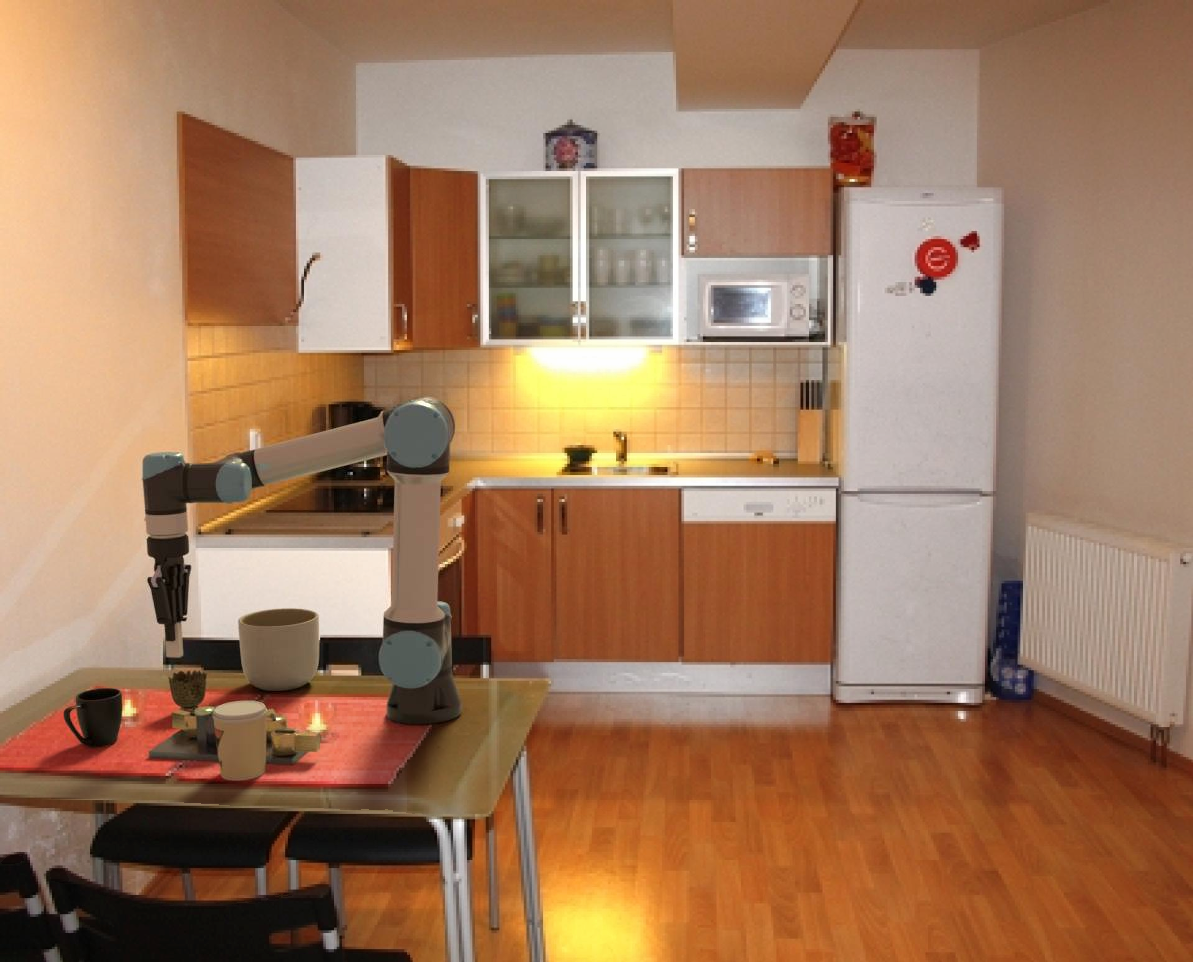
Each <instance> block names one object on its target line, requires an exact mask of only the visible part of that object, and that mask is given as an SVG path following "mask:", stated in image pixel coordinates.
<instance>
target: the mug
mask: <svg viewBox="0 0 1193 962" xmlns="http://www.w3.org/2000/svg"><path fill="white" fill-rule="evenodd" d="M122 693H123V692H122V691H121V690H120V689H117V688H113V687H104V688H103V687H100V688H94V689H88V690H85V691H81V692H80V693H77V694H76V695H75V705H72V706H69V707H67V708H65V709H64V710H63V719H64V722H65V724H66V725H67V726H68V729H70V731H71V732H72V734H73V735H74V736H75V737H76V738H77V740H78V741H79V742H80V743H81V744H82V745H84V746H86V747H87V746H88V747H92V748H100V747H101V748H102V747H107V746H111V745H114V744H115V743H116V742H118V738H119V737H118V736H119V732H120V729H121V728H120V727H121V723H122V719H123V718H122V717H123V696H122V695H123V694H122ZM73 710H76V717H77V721H78V724H79V725H78V726H79V728H80V731H81V733H80V732H79V731H78V730H77V728H76V726H75V725H74V723H73V721H72V720H71V712H72V711H73ZM81 734H82V735H81Z"/></svg>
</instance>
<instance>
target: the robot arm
mask: <svg viewBox="0 0 1193 962" xmlns="http://www.w3.org/2000/svg"><path fill="white" fill-rule="evenodd" d="M455 433H456V423H455V419H454V415H453V414H452V411H451V410H450V408H449V407H448V406H447V405H446V404H445V403H444V402H443V401H441V400H439V399H437V398H434V397H431V396H419V397H416V398H413V399H410V400H409V401H406V402H403V403H402V404H400V405H398V406H395V407H392V408H388V409H384V410H382V411H380V413H379V415H378V416H377V417H374V418H371V419H367V420H364V421H363V420H362V421H358V422H355V423H351V424H346V425H343V426H339V427H336V428H331V429H328V430H327V429H326V430H323V431H320V432H317V433H312V434H309V435H308V434H307V435H304V436H300V437H296V438H292V439H289V440H286V441H282V442H276V443H274V444H270V445H265V446H261V447H258V448H255V449H251V450H246V451H242V452H237V451H236V452H234V453H230V454H228V455H226V456H225V457H223V458H221V459H219V460H217V461H215V462H203V463H202V462H201V463H192V462H191V463H189V462H186V460H185V456H184V455H183V453H182V452H176V451H175V452H172V451H164V452H153V453H149V454H145V456H144V457H143V458H142V477H141V481H142V489H143V502H144V513H145V517H144V522H145V529H146V530H145V531H146V534H147V535H148V537H147V538H146V550H147V551H146V553H147V555H148V557H150V558H153V559H154V565H153V572H154V574H153V576H148V577H147V579H146V582H147V584H148V587H149V589H150V593H151V598H152V603H153V607H154V612H155V613H154V614H155V618H156V622H157V623H158V624H159V625H164V626H163V627H164V638H165V639H164V640H165V657H166V658H179V659H180V658H182V657H183V656H184V647H183V646H184V645H183V643H184V642H183V628H182V622H186V621H187V620H188V617H186V616H187V615H188V608H189V607H188V606H189V589H190V575H191V571H192V565H191V564H186V563H185V558H184V556H186V555H188V554H189V552H190V541H189V535H188V534H187V532H188V531H189V522H188V512H187V509H188V508H187V507H188V506H187V504H224V503H225V504H233V503H243V502H246V501H248V500H249V498H250V496H251V494H252V490H254V489H258V488H262V487H264V486H268V485H273V484H278V483H280V482H284V481H285V482H286V481H288V480H289V481H290V480H293V479H297V478H301V477H305V476H309V475H312V474H316V473H320V472H321V473H322V472H325V471H328V470H329V471H330V470H332V469H336V468H340V467H344V466H348V465H352V464H357V463H359V462H363V461H368V460H371V459H376V458H380V457H385V456H386V472H387V473H388V475H389V476H390V477H392V479H393V481H394V495H393V496H394V499H393V500H394V501H393V503H394V504H393V534H392V535H393V539H392V540H393V542H392V578H391V579H392V580H391V581H392V584H391V587H392V588H391V605H390V606H389V607H388V608H387V609H386V610H385V611H384V612H383V622H382V643H381V646H380V648H379V651H378V652H379V653H378V665H379V668H380V671H381V672H382V674H383V676H384V677H385V678H386V679H387V680H388V681H389V682H390V683H392V685H391V688H390V691H389V695H388V698H387V702H386V717H387V718H388V719H389V720H391V721H393V722H395V723H398V724H399V723H400V724H404V725H405V724H406V725H433V724H439V723H443V722H447V721H450V720H454V719H456V718H458V717H460V715H461V714H462V712H463V707H462V705H463V703H462V698H461V695H460V693H459V690H458V687H457V684H456V682H455V681H456V680H455V679H454V677H453V659H452V657H453V656H452V653H453V652H452V625H451V624H452V623H451V620H452V618H453V615H452V614H451V607H450V605H449V604H448V603H447V602H444V601H438V593H439V592H438V590H439V589H438V588H439V587H438V586H439V583H438V582H439V561H440V560H439V558H440V557H439V555H440V553H439V552H440V524H441V523H440V522H441V521H440V520H441V519H440V518H441V492H442V491H441V489H442V488H441V485H442V484H441V483H442V481H443V480H444V479H445V478H446V477H447V476H448V475H449V474H450V460H451V459H450V457H451V456H450V455H451V442H452V441H453V438H454V435H455Z"/></svg>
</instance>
